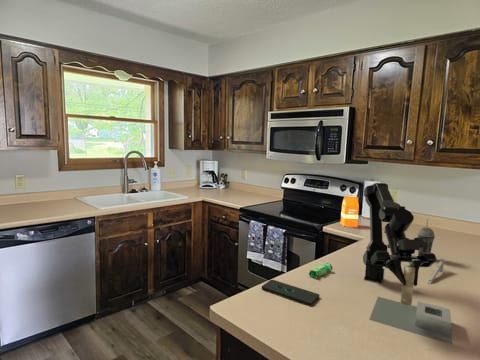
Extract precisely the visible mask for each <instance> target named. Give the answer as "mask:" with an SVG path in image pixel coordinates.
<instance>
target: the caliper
mask: <svg viewBox="0 0 480 360" xmlns="http://www.w3.org/2000/svg"><path fill="white" fill-rule="evenodd" d="M444 259H445V258H444V257H440V260H439V262H438V264H437V266H436V268H435V270H434V271H433V273H432V274H431V275H430V277H429V278H428V281H427V284H429V285H431V284H432V283H434V282H433V281H434V280H435V278H436V277H437V275H438V273H440V272H443V270H444V264H445V262H444V261H445V260H444Z"/></svg>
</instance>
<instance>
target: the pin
mask: <svg viewBox="0 0 480 360" xmlns="http://www.w3.org/2000/svg"><path fill="white" fill-rule="evenodd" d="M403 274H404V277H405V281H406V285H405V286H404V285H403V284H402V283H401V284H402V285H401V286H402V287H401V293H400V294H401V295H400V302H401V303H402V304H405V305H412V303H413V294H414V287H415V286H414V276H415V268H414V267H412V266H409V265H404V267H403Z"/></svg>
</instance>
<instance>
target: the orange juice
mask: <svg viewBox="0 0 480 360" xmlns="http://www.w3.org/2000/svg"><path fill="white" fill-rule="evenodd" d="M359 206H360V205H359V197H358V196H344V197H343V199H342V203H341V212H340V225H341V224H342V225H343V226H354V227H357V228H358V220H359V210H360V209H359ZM342 225H341V226H342ZM343 226H342V227H343Z"/></svg>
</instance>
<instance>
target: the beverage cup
mask: <svg viewBox="0 0 480 360" xmlns="http://www.w3.org/2000/svg"><path fill="white" fill-rule="evenodd" d="M428 222H429V219H428V218H427V219H426V223H425V224H426V225H425V227H421V228H420V229H419V230H418V233H417V237H422V238H423V240H424V244H425V247H424V248H420V250H417V251H418V252H417V256H418V255H419V254H420V253H421V252H427V253H432V249H433V248H432V247H433V244H434V240H435V238H436V237H435V232H434V231H433V230H432V229H431V228H429V227H428V224H429V223H428Z"/></svg>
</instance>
